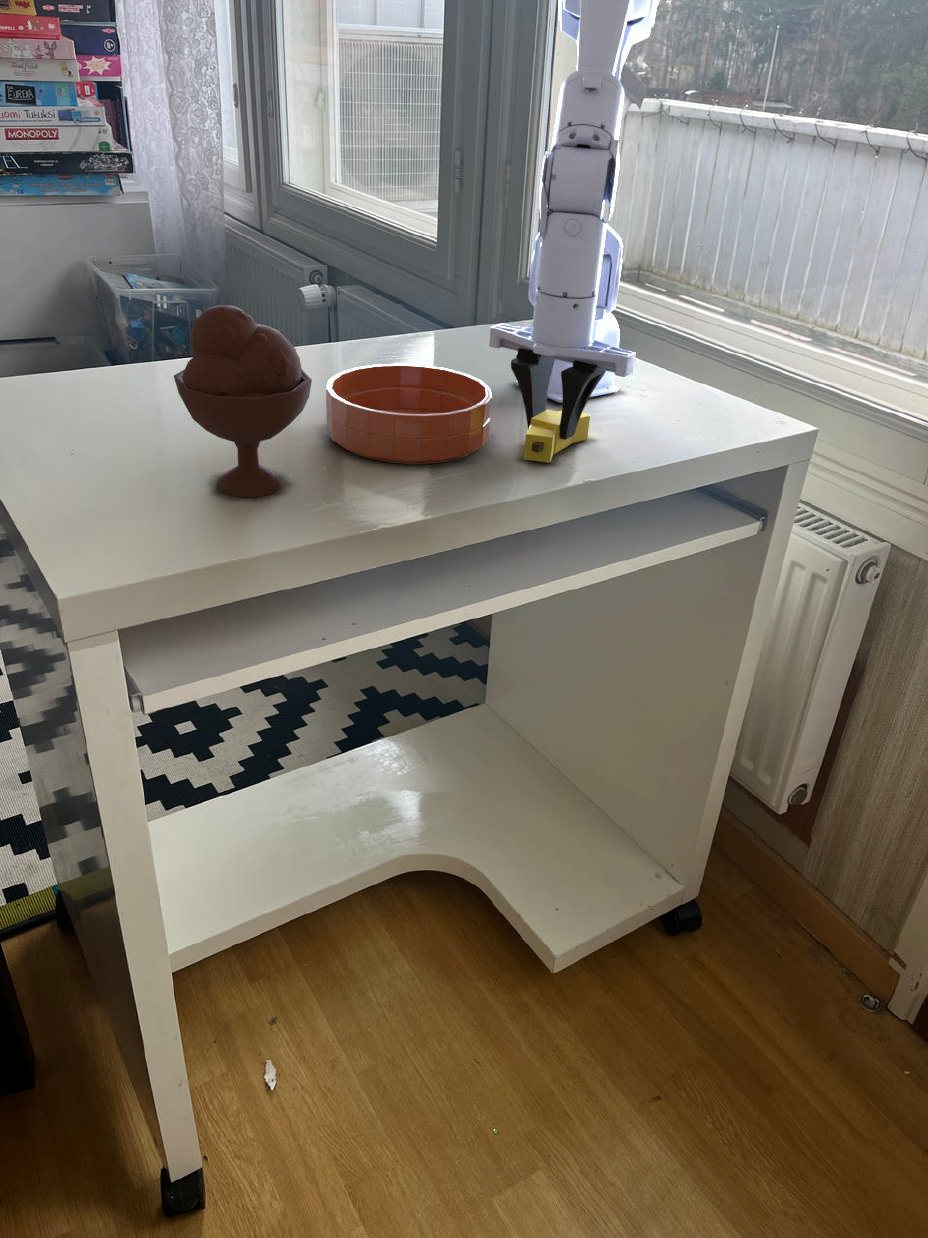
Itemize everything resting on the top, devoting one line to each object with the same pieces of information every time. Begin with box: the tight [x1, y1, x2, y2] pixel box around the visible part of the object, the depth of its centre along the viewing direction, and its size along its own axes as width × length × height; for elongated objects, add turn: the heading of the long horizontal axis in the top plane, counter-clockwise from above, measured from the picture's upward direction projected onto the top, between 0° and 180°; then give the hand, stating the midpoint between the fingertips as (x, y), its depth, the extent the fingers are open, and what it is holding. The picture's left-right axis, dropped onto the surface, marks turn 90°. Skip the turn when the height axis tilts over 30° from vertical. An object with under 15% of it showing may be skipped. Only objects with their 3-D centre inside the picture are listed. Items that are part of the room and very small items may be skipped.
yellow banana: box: [523, 408, 591, 464], centre depth 94 cm, size 10×4×3 cm, turn 148°
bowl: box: [325, 363, 493, 465], centre depth 94 cm, size 16×16×5 cm
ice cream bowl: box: [173, 304, 313, 498], centre depth 79 cm, size 11×11×15 cm
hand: (550, 432), depth 95 cm, fingers closed on yellow banana, 3 cm apart
